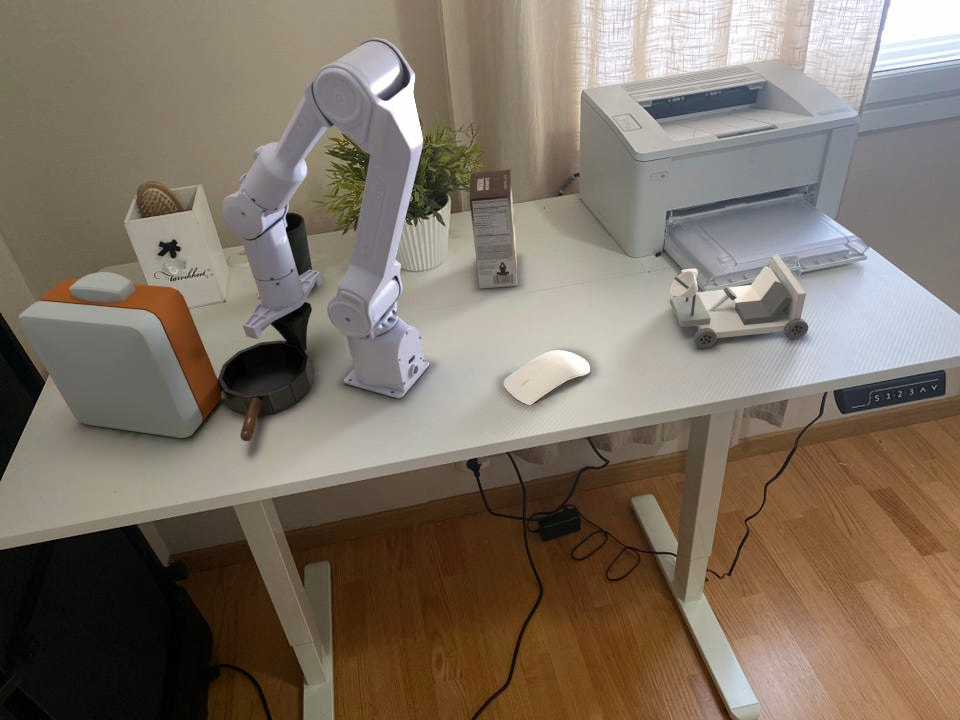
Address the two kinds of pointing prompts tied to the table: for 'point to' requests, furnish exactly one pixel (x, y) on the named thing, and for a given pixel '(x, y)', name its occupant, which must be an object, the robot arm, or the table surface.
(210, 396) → the alarm clock
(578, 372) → the computer mouse
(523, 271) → the table surface
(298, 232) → the cup
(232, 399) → the pan
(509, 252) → the coffee box
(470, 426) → the table surface
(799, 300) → the toy cart
